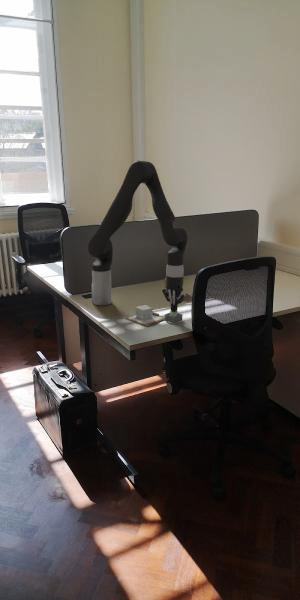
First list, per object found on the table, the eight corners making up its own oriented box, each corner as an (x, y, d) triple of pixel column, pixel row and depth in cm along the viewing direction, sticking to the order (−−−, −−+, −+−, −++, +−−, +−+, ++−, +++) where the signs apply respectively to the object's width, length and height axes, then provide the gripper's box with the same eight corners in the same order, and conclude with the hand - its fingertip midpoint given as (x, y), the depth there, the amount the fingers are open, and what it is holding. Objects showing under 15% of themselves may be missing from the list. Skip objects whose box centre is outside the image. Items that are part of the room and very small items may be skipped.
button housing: (164, 320, 194) (164, 314, 193) (172, 317, 198) (172, 311, 197) (174, 323, 191) (174, 317, 190) (182, 320, 194) (182, 314, 193)
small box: (152, 318, 195) (152, 307, 194) (142, 320, 192) (142, 310, 190) (145, 314, 200) (145, 304, 198) (135, 316, 196) (135, 306, 195)
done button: (167, 319, 194) (168, 311, 193) (173, 317, 197) (173, 309, 195) (174, 322, 192) (174, 313, 190) (179, 319, 194) (179, 311, 193)
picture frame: (124, 318, 196) (124, 316, 195) (144, 311, 205) (144, 309, 205) (147, 327, 187) (147, 324, 187) (166, 318, 196) (166, 316, 196)
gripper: (157, 273, 189) (157, 310, 194) (181, 278, 180) (180, 317, 186) (168, 269, 194) (168, 306, 200) (192, 275, 186) (190, 312, 191)
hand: (174, 311), depth 193 cm, fingers closed
